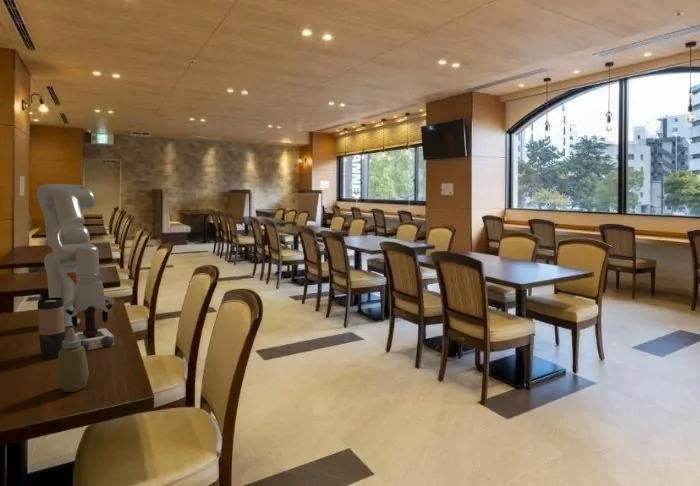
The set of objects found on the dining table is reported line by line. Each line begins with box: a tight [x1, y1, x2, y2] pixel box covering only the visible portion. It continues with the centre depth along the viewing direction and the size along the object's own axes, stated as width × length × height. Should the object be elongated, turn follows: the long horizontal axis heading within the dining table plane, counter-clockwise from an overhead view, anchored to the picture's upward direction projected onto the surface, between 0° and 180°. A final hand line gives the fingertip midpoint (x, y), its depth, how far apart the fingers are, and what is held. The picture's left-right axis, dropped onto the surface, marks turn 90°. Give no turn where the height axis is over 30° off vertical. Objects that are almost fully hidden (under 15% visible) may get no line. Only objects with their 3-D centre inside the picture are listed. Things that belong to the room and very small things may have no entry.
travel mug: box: [36, 297, 66, 360], centre depth 162 cm, size 8×8×20 cm
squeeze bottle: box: [56, 327, 90, 393], centre depth 135 cm, size 8×8×18 cm
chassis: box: [74, 327, 115, 352], centre depth 175 cm, size 15×13×4 cm
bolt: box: [82, 306, 98, 339], centre depth 175 cm, size 6×5×15 cm
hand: (90, 324), depth 175 cm, fingers open, 9 cm apart
